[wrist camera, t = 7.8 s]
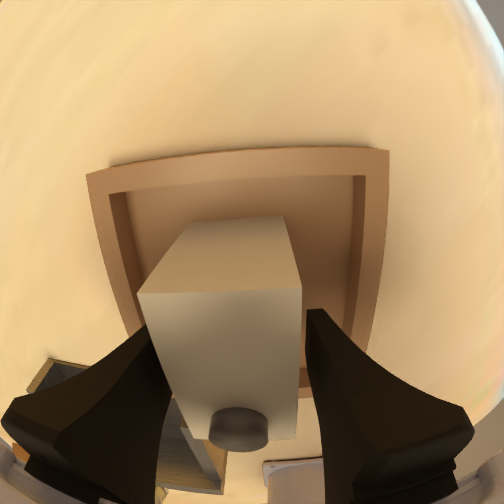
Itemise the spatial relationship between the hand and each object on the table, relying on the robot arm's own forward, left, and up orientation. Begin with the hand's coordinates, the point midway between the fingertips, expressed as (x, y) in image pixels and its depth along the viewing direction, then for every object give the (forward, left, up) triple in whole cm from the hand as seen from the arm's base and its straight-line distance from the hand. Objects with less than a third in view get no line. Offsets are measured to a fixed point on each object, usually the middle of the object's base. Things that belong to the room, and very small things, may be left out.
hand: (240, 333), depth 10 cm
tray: (0, 0, -4) cm, 4 cm away
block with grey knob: (0, 0, -3) cm, 3 cm away
